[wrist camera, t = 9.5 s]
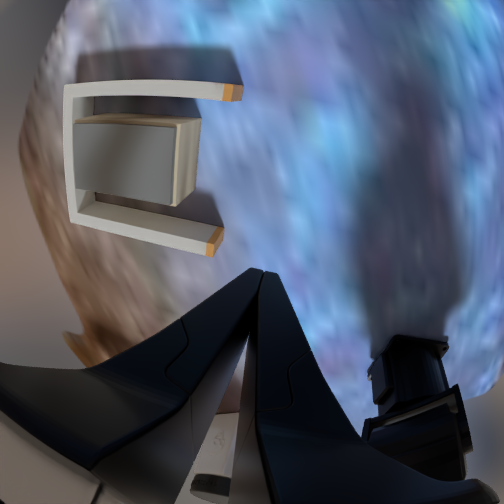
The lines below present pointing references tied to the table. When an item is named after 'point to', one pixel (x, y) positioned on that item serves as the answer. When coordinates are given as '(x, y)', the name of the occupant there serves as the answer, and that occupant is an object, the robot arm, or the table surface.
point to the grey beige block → (137, 155)
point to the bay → (124, 218)
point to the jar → (216, 460)
